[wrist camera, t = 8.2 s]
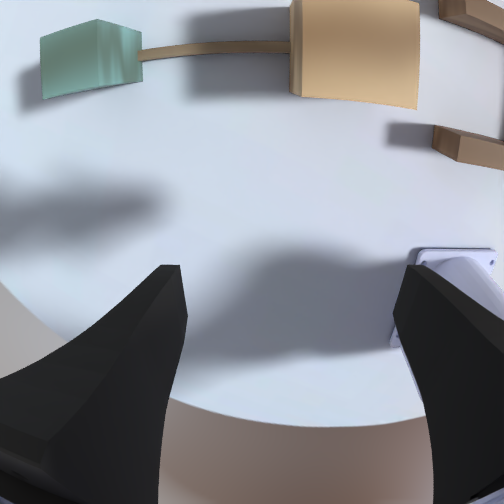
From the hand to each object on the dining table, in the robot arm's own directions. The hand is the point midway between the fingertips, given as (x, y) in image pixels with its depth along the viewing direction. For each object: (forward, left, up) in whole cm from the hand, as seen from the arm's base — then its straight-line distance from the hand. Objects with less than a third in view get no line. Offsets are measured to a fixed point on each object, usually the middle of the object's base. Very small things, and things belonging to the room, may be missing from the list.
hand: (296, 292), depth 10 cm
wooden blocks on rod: (+8, +2, -10) cm, 13 cm away
